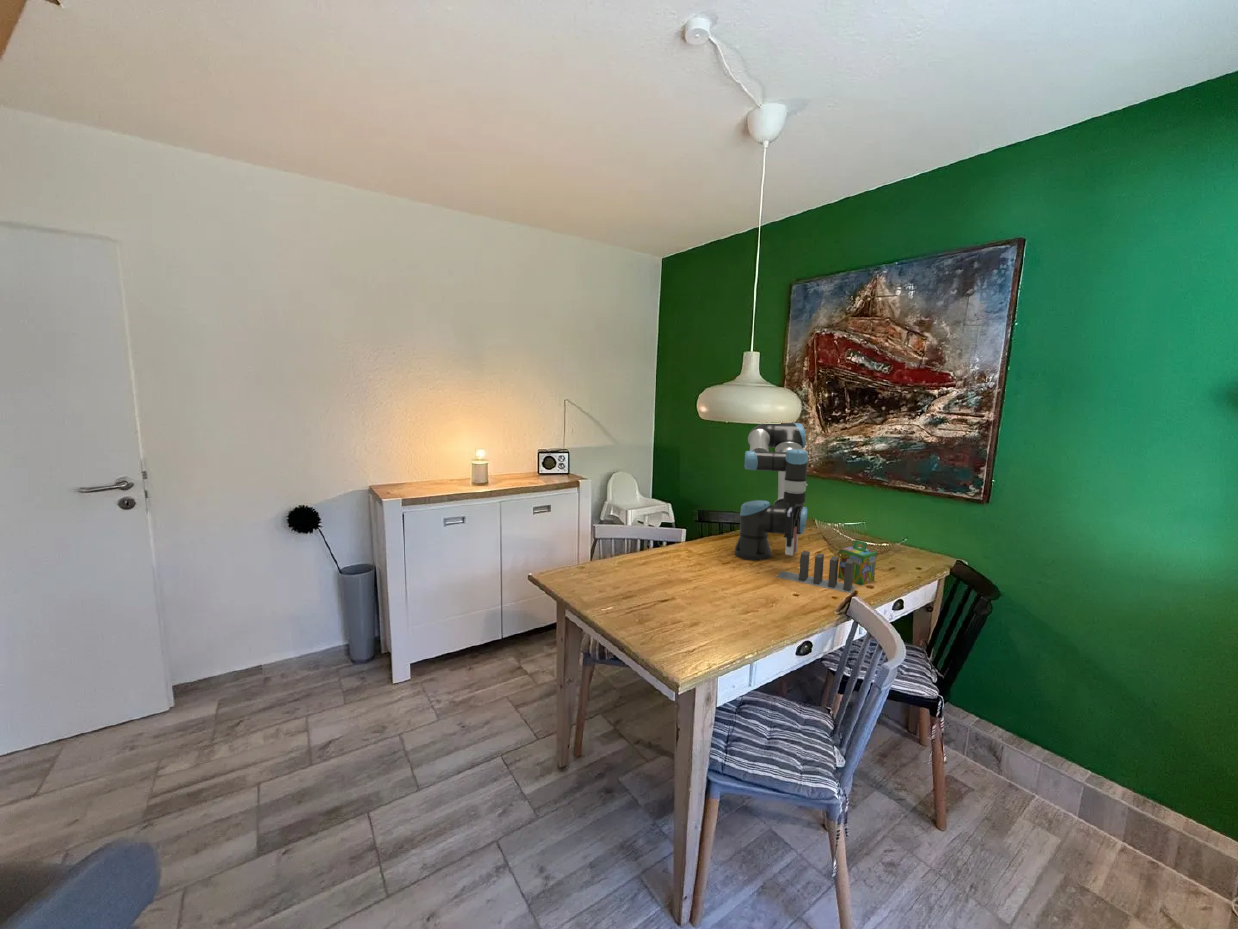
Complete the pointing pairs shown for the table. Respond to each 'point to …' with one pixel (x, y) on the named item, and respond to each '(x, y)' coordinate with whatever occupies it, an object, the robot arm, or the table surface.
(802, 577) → the domino
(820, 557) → the domino
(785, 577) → the mat
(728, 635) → the table surface
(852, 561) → the domino
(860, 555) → the chalk box
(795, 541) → the domino
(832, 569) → the domino
